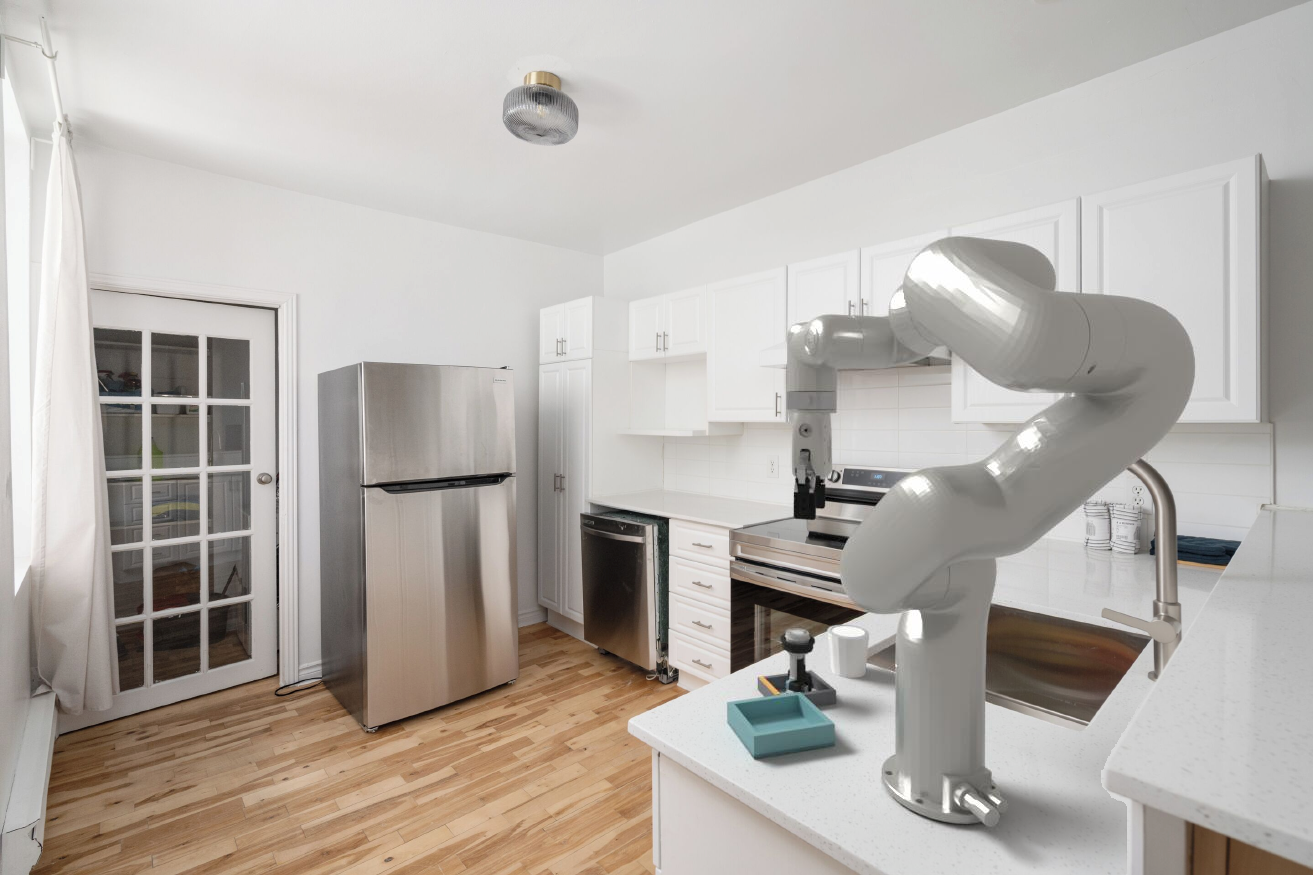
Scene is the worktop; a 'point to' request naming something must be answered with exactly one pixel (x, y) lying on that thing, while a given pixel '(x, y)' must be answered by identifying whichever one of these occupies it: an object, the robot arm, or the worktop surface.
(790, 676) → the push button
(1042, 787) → the worktop surface
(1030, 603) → the worktop surface
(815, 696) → the box
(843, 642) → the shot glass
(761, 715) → the tray
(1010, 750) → the worktop surface
